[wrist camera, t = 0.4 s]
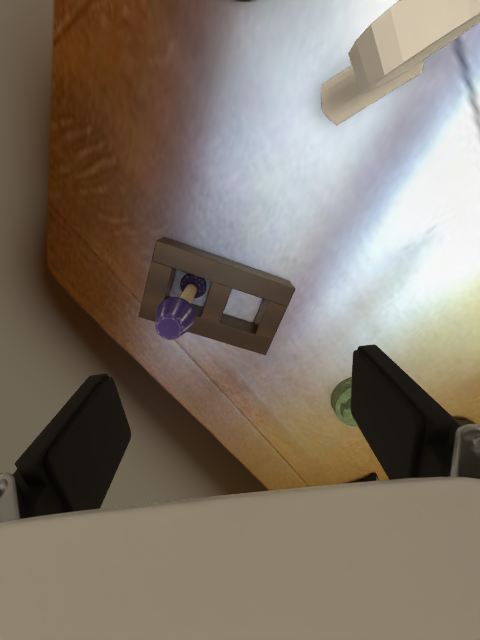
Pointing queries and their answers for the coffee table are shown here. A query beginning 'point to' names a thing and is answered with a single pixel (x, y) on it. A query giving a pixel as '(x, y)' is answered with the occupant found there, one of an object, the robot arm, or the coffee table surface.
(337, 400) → the decorative artifact
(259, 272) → the frame
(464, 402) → the coffee table surface
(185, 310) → the toy lamp
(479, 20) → the heart sculpture
